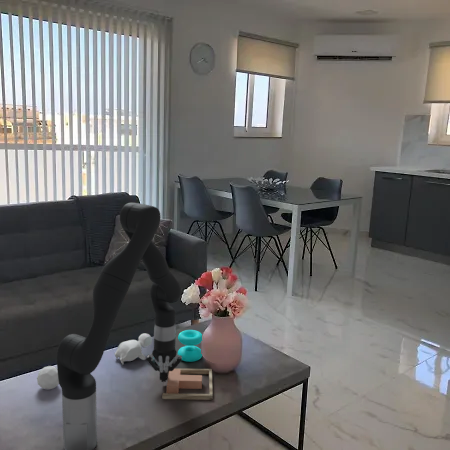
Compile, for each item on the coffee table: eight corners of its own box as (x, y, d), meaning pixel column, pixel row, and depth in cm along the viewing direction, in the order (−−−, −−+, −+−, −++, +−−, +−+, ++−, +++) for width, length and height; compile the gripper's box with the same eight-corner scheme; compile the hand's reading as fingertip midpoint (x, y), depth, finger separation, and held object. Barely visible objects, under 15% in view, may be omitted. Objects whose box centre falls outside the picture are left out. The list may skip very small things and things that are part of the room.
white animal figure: (127, 372, 187) (159, 350, 194) (119, 355, 183) (152, 333, 190) (117, 363, 193) (148, 342, 200) (110, 347, 190) (142, 325, 197)
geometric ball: (43, 394, 169) (33, 373, 170) (65, 382, 172) (55, 361, 173) (42, 394, 162) (31, 373, 163) (64, 382, 165) (54, 360, 166)
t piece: (201, 395, 168) (201, 387, 168) (166, 394, 168) (166, 386, 167) (202, 377, 180) (202, 369, 179) (169, 376, 179) (169, 368, 179)
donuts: (201, 328, 198) (205, 338, 189) (200, 350, 200) (204, 362, 191) (176, 329, 196) (179, 340, 187) (176, 352, 198) (178, 364, 189)
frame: (212, 399, 166) (212, 395, 165) (162, 398, 165) (162, 395, 165) (211, 372, 183) (211, 369, 183) (166, 371, 182) (166, 368, 182)
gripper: (144, 340, 166) (143, 386, 169) (183, 340, 166) (181, 386, 170) (146, 330, 173) (146, 374, 177) (184, 331, 174) (182, 375, 177)
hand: (163, 380), depth 173 cm, fingers closed
